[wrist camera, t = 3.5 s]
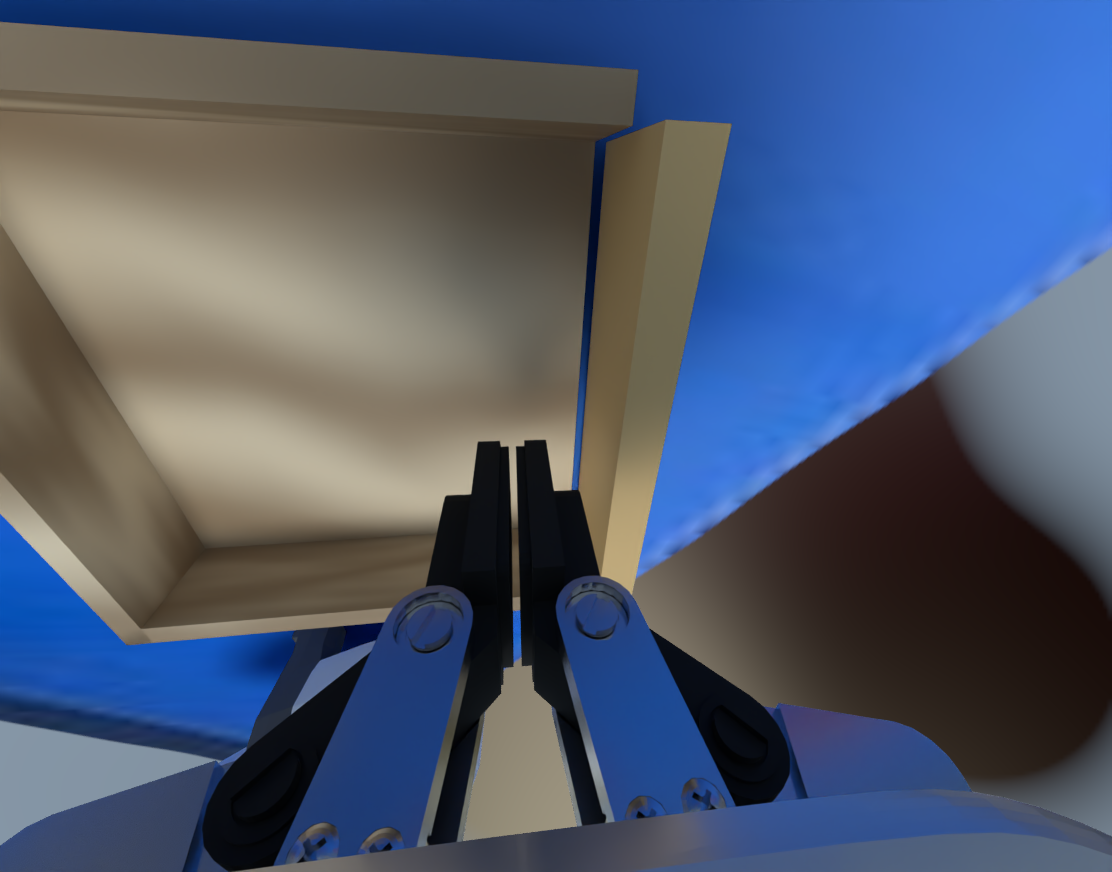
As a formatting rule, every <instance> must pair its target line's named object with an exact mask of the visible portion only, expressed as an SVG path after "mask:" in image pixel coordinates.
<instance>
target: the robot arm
mask: <svg viewBox="0 0 1112 872" xmlns="http://www.w3.org/2000/svg"><path fill="white" fill-rule="evenodd" d="M516 469H517V508H518V546H519V581H520V617H521V653H522V666H529V665H532V677H533V682H534V690H535V691H536V692H537V693H538V694H539V695H540V696H541V697H542V698H544V699H545V700H546V701H547V702H548V703H549V704H550V705H551V706H552V715H553V719H554V724H555V728H556V733H557V737H558V742H559V746H560V751H561V755H562V760H563V764H564V769H565V773H566V778H567V782H568V787H569V791H570V796H571V800H572V805H573V809H574V814H575V818H576V823H577V827H570V828H563V829H554V830H547V831H539V832H531V833H523V834H515V835H508V836H501V837H492V838H485V839H477V840H469V841H463V836H464V831H465V824H466V819H467V813H468V808H469V802H470V797H471V791H472V786H473V781H474V775H475V769H476V764H477V758H478V753H479V747H480V742H481V736H482V730H483V725H484V716H485V711H486V710H487V708H488V707H489V706H490V705H491V704H492V703H493V702H494V700H495V699H496V698H497V697H498V696H499V695H500V694H501V685H503V668H506V667H513V571H512V516H511V489H510V462H509V446H505V447H501V444H500V441H478V444H477V451H476V459H475V467H474V475H473V483H472V491H471V494H466V495H446V497H445V499H444V502H443V507H442V512H441V516H440V521H439V526H438V531H437V535H436V540H435V545H434V549H433V554H432V559H431V563H430V568H429V573H428V577H427V582H426V587H425V588H421V589H418V590H415V591H414V592H412V593H410V594H409V595H407V596H405V597H404V598H403V599H402V600H400V601H399V602H398V603H397V604H396V605H395V606H394V607H393V609H392V610H391V612H390V613H389V615H388V616H387V618H386V620H385V622H384V624H383V627H382V629H381V631H380V633H379V635H378V638H377V640H376V642H375V644H374V646H373V648H372V651H371V652H369V653H368V654H367V655H366V656H364V657H363V658H362V659H361V660H359V661H358V662H357V663H356V664H354V665H353V666H352V667H351V668H349V669H348V670H347V671H345V672H344V673H343V674H342V675H340V676H339V677H338V678H337V679H335V680H334V681H333V682H332V683H330V684H329V685H328V686H326V687H325V688H324V689H323V690H321V691H320V692H319V693H318V694H316V695H315V696H314V697H313V698H311V699H310V700H309V701H307V702H306V703H305V704H304V705H302V706H301V707H300V708H299V709H297V710H296V711H295V712H294V713H292V714H291V715H290V716H288V717H287V718H286V719H285V720H283V721H282V722H281V723H280V724H278V725H277V726H276V727H275V728H273V729H272V730H271V731H270V732H268V733H267V734H266V735H264V736H263V737H262V738H261V739H259V740H258V741H257V742H256V743H254V744H253V745H252V746H251V747H250V748H248V749H247V750H246V751H245V752H244V753H243V754H242V755H241V756H240V757H239V758H238V759H237V760H236V761H233V762H230V763H227V764H224V765H220V764H219V763H218V762H217V761H213V762H210V763H207V764H204V765H201V766H198V767H195V768H192V769H189V770H186V771H182V772H180V773H177V774H174V775H171V776H167V777H165V778H161V779H158V780H155V781H152V782H149V783H147V784H143V785H141V786H137V787H134V788H131V789H128V790H125V791H122V792H119V793H116V794H113V795H110V796H107V797H104V798H101V799H98V800H95V801H92V802H89V803H86V804H83V805H80V806H77V807H74V808H71V809H68V810H65V811H62V812H59V813H56V814H53V815H51V816H49V817H46V818H44V819H42V820H40V821H38V822H36V823H34V824H32V825H30V826H27V827H26V828H24V829H23V830H21V831H20V832H19V833H17V834H16V835H14V836H13V837H12V838H10V839H9V840H7V841H6V842H5V843H3V844H2V845H0V872H1112V836H1110V835H1107V834H1105V833H1103V832H1101V831H1099V830H1097V829H1094V828H1092V827H1090V826H1088V825H1085V824H1083V823H1081V822H1078V821H1076V820H1073V819H1070V818H1068V817H1065V816H1062V815H1060V814H1057V813H1054V812H1052V811H1049V810H1046V809H1043V808H1041V807H1037V806H1033V805H1029V804H1026V803H1022V802H1018V801H1015V800H1011V799H1007V798H1004V797H998V796H992V795H987V794H982V793H976V792H972V791H971V789H970V787H969V786H968V784H967V782H966V780H965V779H964V777H963V775H962V774H961V773H960V771H959V770H958V769H957V767H956V766H955V765H954V764H953V762H952V761H951V759H950V758H949V757H948V756H947V755H946V754H945V753H944V752H943V751H942V750H941V749H940V748H939V747H938V746H936V744H934V743H933V742H932V741H931V740H930V739H929V738H927V737H925V736H924V735H922V734H921V733H919V732H917V731H916V730H914V729H913V728H911V727H908V726H905V725H902V724H899V723H896V722H892V721H886V720H879V719H873V718H867V717H861V716H854V715H849V714H842V713H836V712H830V711H824V710H818V709H811V708H805V707H799V706H793V705H786V704H780V703H779V704H778V705H777V707H776V708H769V707H764V706H762V705H761V704H760V703H758V702H757V701H756V700H755V699H753V698H752V697H751V696H750V695H748V694H747V693H745V692H744V691H742V690H741V689H739V688H737V687H736V686H735V685H733V684H731V683H730V682H729V681H727V680H726V679H724V678H723V677H721V676H720V675H718V674H717V673H715V672H714V671H712V670H711V669H709V668H708V667H706V666H705V665H703V664H702V663H700V662H699V661H697V660H696V659H694V658H693V657H691V656H690V655H688V654H687V653H685V652H684V651H682V650H681V649H679V648H678V647H676V646H675V645H673V644H672V643H670V642H669V641H667V640H666V639H664V638H663V637H661V636H660V635H658V634H657V633H655V632H654V631H652V630H651V629H649V627H648V625H647V623H646V621H645V619H644V617H643V615H642V613H641V611H640V609H639V607H638V605H637V603H636V601H635V600H634V598H633V597H632V595H631V594H630V592H629V591H628V590H627V589H626V588H625V587H623V586H622V585H621V584H620V583H618V582H616V581H614V580H612V579H610V578H606V577H601V576H600V572H599V568H598V564H597V560H596V556H595V552H594V547H593V543H592V539H591V535H590V531H589V527H588V523H587V519H586V514H585V510H584V506H583V502H582V498H581V494H580V491H579V490H564V491H554V488H553V482H552V475H551V469H550V462H549V456H548V449H547V443H546V440H524V446H516Z"/></svg>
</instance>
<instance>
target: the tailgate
mask: <svg viewBox="0 0 1112 872" xmlns="http://www.w3.org/2000/svg"><path fill="white" fill-rule="evenodd" d="M731 125H732V124H729V123H712V122H696V121H679V120H664V121H661V122H659V123H656V124H653V125H651V126H648V127H645V128H643V129H640V130H637V131H635V132H632V133H629V134H627V135H624V136H622V137H619V138H616V139H614V140H611V141H608V142H606V153H605V165H604V178H603V190H602V203H601V215H600V227H599V240H598V252H597V264H596V277H595V289H594V302H593V314H592V326H591V339H590V351H589V364H588V376H587V388H586V401H585V413H584V425H583V438H582V450H581V463H580V475H579V487H578V490H579V491H580V494H581V498H582V502H583V506H584V510H585V514H586V519H587V523H588V527H589V531H590V535H591V539H592V543H593V547H594V552H595V556H596V560H597V564H598V568H599V572H600V576H601V577H606V578H610V579H612V580H614V581H616V582H618V583H620V584H621V585H622V586H623V587H625V588H626V589H627V590H628V591H629V592H630V594H631V595H632V592H633V587H634V582H635V577H636V573H637V568H638V563H639V559H640V554H641V549H642V545H643V540H644V535H645V530H646V526H647V521H648V516H649V512H650V507H651V502H652V497H653V493H654V488H655V483H656V479H657V474H658V469H659V464H660V460H661V455H662V450H663V446H664V441H665V436H666V431H667V427H668V422H669V417H670V413H671V408H672V403H673V398H674V394H675V389H676V384H677V380H678V375H679V370H680V366H681V361H682V356H683V351H684V347H685V342H686V337H687V333H688V328H689V323H690V318H691V314H692V309H693V304H694V300H695V295H696V290H697V285H698V281H699V276H700V271H701V267H702V262H703V257H704V252H705V248H706V243H707V238H708V234H709V229H710V224H711V219H712V215H713V210H714V205H715V201H716V196H717V191H718V186H719V182H720V177H721V172H722V168H723V163H724V158H725V154H726V149H727V144H728V139H729V135H730V130H731Z"/></svg>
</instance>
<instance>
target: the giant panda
mask: <svg viewBox="0 0 1112 872" xmlns="http://www.w3.org/2000/svg"><path fill="white" fill-rule="evenodd" d="M345 635H346V631H345V629H344V627H343V626H336V627H325V628H314V629H302V630H297V631H295V632H294V633H293V637H292V639H293V640H294V641H295V643H296V644H295V648H294V651H293V654H292V656H291V658H290V659H289V661H288V663H287V664H286V666H285V668H284V670H283V671H282V673H281V675H280V677H279V679H278V681H277V682H276V684H275V686H274V688H273V690H272V692H271V693H270V695H269V697H268V699H267V701H266V702H265V704H264V706H263V708H262V710H261V711H260V713H259V715H258V717H257V719H256V721H255V724H254V727H253V730H252V733H251V736H250V739H249V742H248V745H247V747H246V748H244V749H242V750H241V751H239V752H237V753H235V754H234V755H232V756H230V757H228V758H226V759H225V760H223V761H221V762H220V763H219V764H220V765H224V764H227V763H230V762H233V761H236V760H237V759H238V758H239V757H240V756H241V755H242V754H243V753H244V752H245V751H246V750H247V749H248V748H250V747H251V746H252V745H253V744H254V743H256V742H257V741H258V740H259V739H261V738H262V737H263V736H264V735H266V734H267V733H268V732H270V731H271V730H272V729H273V728H275V727H276V726H277V725H278V724H280V723H281V722H282V721H283V720H285V719H286V718H287V717H288V716H290V715H291V714H292V713H294V712H295V711H296V710H297V709H299V708H300V707H301V706H302V705H304V704H305V703H306V702H307V701H309V700H310V699H311V698H313V697H314V696H315V695H316V694H318V693H319V692H320V691H321V690H323V689H324V688H325V687H326V686H328V685H329V684H330V683H332V682H333V681H334V680H335V679H337V678H338V677H339V676H340V675H342V674H343V673H344V672H345V671H347V670H348V669H349V668H351V667H352V666H353V665H354V664H356V663H357V662H358V661H359V660H361V659H362V658H363V657H364V656H366V655H367V654H368V653H369V652H371V651H372V648H373V646H374V644H375V642H376V641H372V642H369V643H366V644H363V645H360V646H358V647H355V648H352V649H350V650H347V651H344V652H342V653H341V650H342V647H343V643H344V639H345ZM484 717H485V716H484ZM484 719H485V718H484ZM483 728H484V725H483ZM482 738H483V730H482V736H481V742H480V747H479V753H478V758H477V764H476V769H475V775H474V780H475V777H476V774H477V771H478V769H479V765H480V757H481V747H482ZM473 783H474V781H473Z"/></svg>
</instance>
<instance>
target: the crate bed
mask: <svg viewBox="0 0 1112 872" xmlns="http://www.w3.org/2000/svg"><path fill="white" fill-rule="evenodd" d="M637 79H638V70H633V69H620V68H607V67H594V66H580V65H567V64H554V63H540V62H527V61H514V60H500V59H487V58H474V57H460V56H447V55H434V54H421V53H407V52H394V51H381V50H367V49H354V48H341V47H327V46H314V45H301V44H287V43H274V42H261V41H247V40H234V39H221V38H208V37H194V36H181V35H168V34H154V33H141V32H128V31H114V30H101V29H88V28H74V27H61V26H48V25H34V24H21V23H8V22H0V514H1V515H2V516H3V517H4V518H5V519H6V520H7V521H8V522H9V523H10V524H11V525H12V526H13V527H14V528H15V529H16V530H17V531H18V532H19V533H20V534H21V535H22V537H23V538H24V539H25V540H26V541H27V542H28V543H29V544H30V545H31V546H32V547H33V548H34V549H35V550H36V551H37V552H38V553H39V554H40V555H41V556H42V557H43V558H44V559H45V560H46V561H47V563H48V564H49V565H50V566H51V567H52V568H53V569H54V570H55V571H56V572H57V573H58V574H59V575H60V576H61V577H62V578H63V579H64V580H65V581H66V582H67V583H68V584H69V585H70V586H71V587H72V589H73V590H74V591H75V592H76V593H77V594H78V595H79V596H80V597H81V598H82V599H83V600H84V601H85V602H86V603H87V604H88V605H89V606H90V607H91V608H92V609H93V610H94V611H95V612H96V613H97V615H98V616H99V617H100V618H101V619H102V620H103V621H104V622H105V623H106V624H107V625H108V626H109V627H110V628H111V629H112V630H113V631H114V632H115V633H116V634H117V635H118V636H119V637H120V638H121V639H122V641H123V642H124V643H125V644H126V645H134V644H145V643H156V642H167V641H179V640H190V639H201V638H212V637H224V636H235V635H246V634H257V633H269V632H280V631H291V630H302V629H314V628H325V627H336V626H347V625H359V624H370V623H381V622H385V620H386V618H387V616H388V615H389V613H390V612H391V610H392V609H393V607H394V606H395V605H396V604H397V603H398V602H399V601H400V600H402V599H403V598H404V597H405V596H407V595H409V594H410V593H412V592H414V591H415V590H418V589H421V588H425V587H426V582H427V577H428V573H429V568H430V563H431V559H432V554H433V549H434V545H435V540H436V535H437V531H438V526H439V521H440V516H441V512H442V507H443V502H444V499H445V497H446V495H466V494H471V491H472V483H473V475H474V467H475V459H476V451H477V444H478V441H500V444H501V447H505V446H509V462H510V489H511V516H512V571H513V611H516V610H520V581H519V546H518V508H517V469H516V446H524V440H546V443H547V449H548V456H549V462H550V469H551V475H552V482H553V488H554V491H564V490H571V488H572V474H573V459H574V444H575V430H576V415H577V401H578V386H579V372H580V357H581V343H582V328H583V313H584V299H585V284H586V270H587V255H588V241H589V226H590V212H591V197H592V182H593V168H594V153H595V142H596V141H598V140H600V139H603V138H605V137H607V136H610V135H612V134H614V133H617V132H619V131H621V130H624V129H626V128H628V127H631V126H633V116H634V107H635V98H636V88H637Z"/></svg>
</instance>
